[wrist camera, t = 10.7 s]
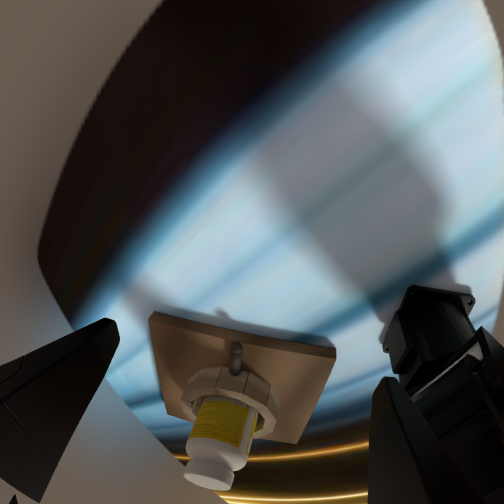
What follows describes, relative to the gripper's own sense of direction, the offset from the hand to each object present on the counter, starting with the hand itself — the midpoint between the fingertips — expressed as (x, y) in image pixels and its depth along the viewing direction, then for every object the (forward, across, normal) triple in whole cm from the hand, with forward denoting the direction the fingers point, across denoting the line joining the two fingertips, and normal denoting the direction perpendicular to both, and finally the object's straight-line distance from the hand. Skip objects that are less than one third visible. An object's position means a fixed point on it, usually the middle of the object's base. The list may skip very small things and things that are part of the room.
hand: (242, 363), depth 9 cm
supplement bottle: (+11, +2, +18) cm, 21 cm away
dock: (+12, +2, +18) cm, 22 cm away
